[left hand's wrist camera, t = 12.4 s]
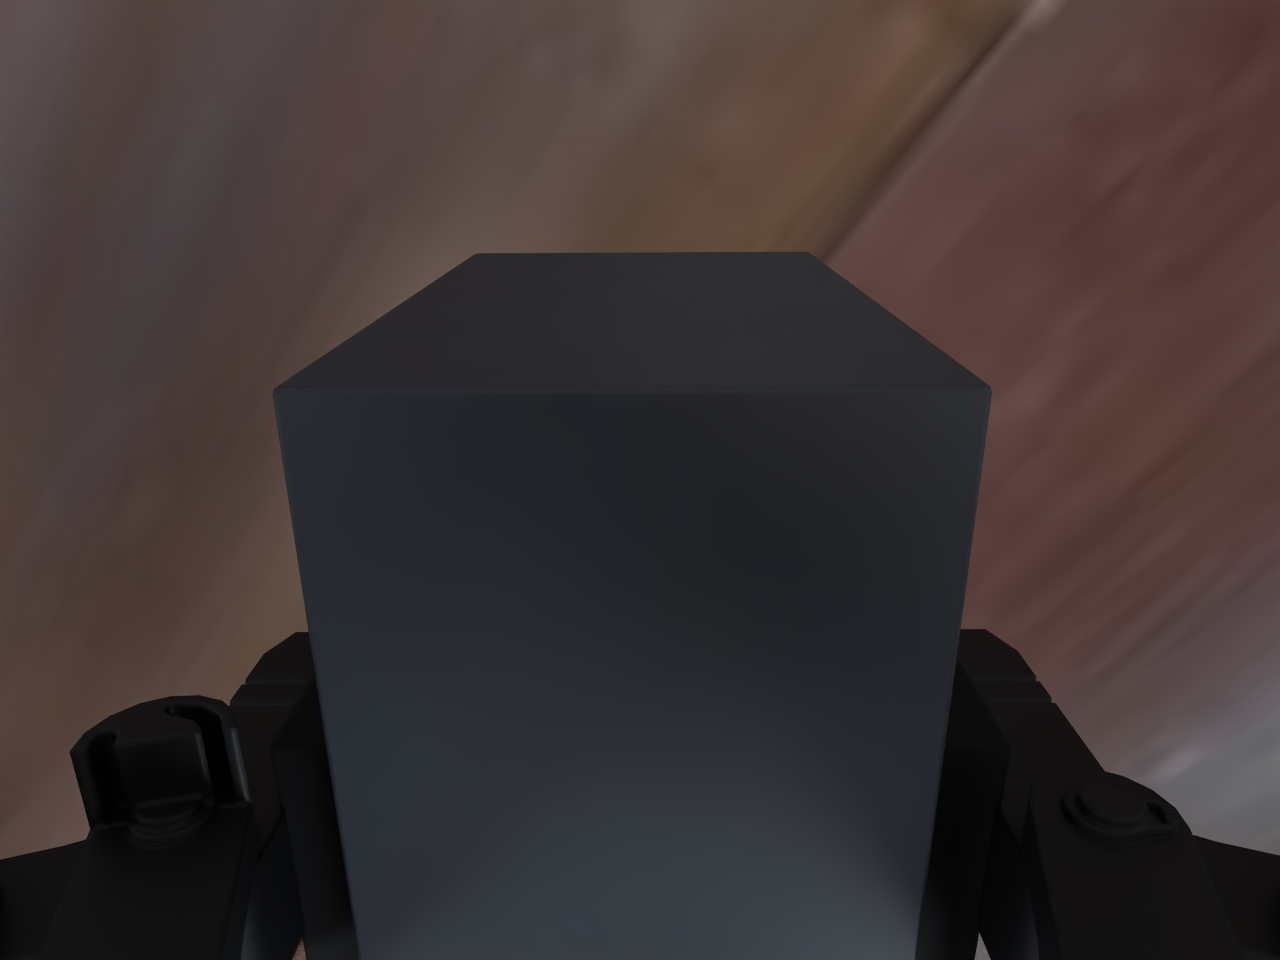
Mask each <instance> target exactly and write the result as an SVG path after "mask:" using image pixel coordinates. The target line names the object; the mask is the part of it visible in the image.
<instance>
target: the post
mask: <svg viewBox="0 0 1280 960" xmlns="http://www.w3.org/2000/svg"><path fill="white" fill-rule="evenodd" d="M991 395H992V391H991V387H990V386H989V385H988V384H986V383H985V382H984V381H982V380H981V379H980V378H978V377H977V376H976V375H974V374H973V373H971V372H970V371H969V370H967V369H966V368H965V367H963V366H962V365H961V364H959V363H958V362H957V361H955V360H954V359H952V358H951V357H950V356H948V355H947V354H946V353H944V352H943V351H942V350H940V349H939V348H938V347H936V346H935V345H934V344H932V343H931V342H929V341H928V340H927V339H925V338H924V337H923V336H921V335H920V334H919V333H917V332H916V331H915V330H913V329H912V328H910V327H909V326H908V325H906V324H905V323H904V322H902V321H901V320H900V319H898V318H897V317H896V316H894V315H893V314H891V313H890V312H889V311H887V310H886V309H885V308H883V307H882V306H881V305H879V304H878V303H877V302H875V301H874V300H873V299H871V298H870V297H868V296H867V295H866V294H864V293H863V292H862V291H860V290H859V289H858V288H856V287H855V286H854V285H852V284H851V283H849V282H848V281H847V280H845V279H844V278H843V277H841V276H840V275H839V274H837V273H836V272H835V271H833V270H832V269H831V268H829V267H828V266H826V265H825V264H824V263H822V262H821V261H820V260H818V259H817V258H816V257H814V256H813V255H812V254H810V253H808V252H675V253H481V254H475V255H473V256H472V257H470V258H469V259H467V260H466V261H464V262H463V263H461V264H460V265H458V266H457V267H455V268H454V269H452V270H451V271H449V272H448V273H446V274H445V275H443V276H442V277H440V278H439V279H437V280H436V281H434V282H433V283H431V284H430V285H428V286H427V287H425V288H424V289H422V290H421V291H419V292H418V293H416V294H415V295H413V296H412V297H410V298H409V299H407V300H406V301H404V302H403V303H401V304H400V305H398V306H397V307H395V308H394V309H392V310H391V311H389V312H388V313H386V314H385V315H383V316H382V317H380V318H379V319H377V320H376V321H375V322H373V323H372V324H370V325H369V326H367V327H366V328H364V329H363V330H361V331H360V332H358V333H357V334H355V335H354V336H352V337H351V338H349V339H348V340H346V341H345V342H343V343H342V344H340V345H339V346H337V347H336V348H334V349H333V350H331V351H330V352H328V353H327V354H325V355H324V356H322V357H321V358H319V359H318V360H316V361H315V362H313V363H312V364H310V365H309V366H307V367H306V368H304V369H303V370H301V371H300V372H298V373H297V374H295V375H294V376H292V377H291V378H289V379H288V380H286V381H285V382H283V383H282V384H280V385H279V386H277V387H276V388H274V391H273V401H274V407H275V414H276V420H277V427H278V433H279V440H280V446H281V453H282V460H283V466H284V473H285V479H286V486H287V492H288V499H289V505H290V512H291V519H292V525H293V532H294V538H295V545H296V551H297V558H298V564H299V571H300V578H301V584H302V591H303V597H304V604H305V610H306V617H307V623H308V630H309V637H310V643H311V650H312V656H313V663H314V669H315V676H316V682H317V689H318V695H319V702H320V709H321V715H322V722H323V728H324V735H325V741H326V748H327V754H328V761H329V768H330V774H331V781H332V787H333V794H334V800H335V807H336V813H337V820H338V827H339V833H340V840H341V846H342V853H343V859H344V866H345V872H346V879H347V886H348V892H349V899H350V905H351V912H352V918H353V925H354V931H355V938H356V944H357V951H358V958H359V960H916V958H917V951H918V943H919V936H920V928H921V921H922V913H923V906H924V898H925V891H926V883H927V876H928V868H929V861H930V853H931V846H932V838H933V831H934V823H935V816H936V808H937V801H938V793H939V786H940V778H941V771H942V763H943V756H944V748H945V741H946V733H947V726H948V718H949V711H950V703H951V696H952V688H953V681H954V673H955V666H956V658H957V651H958V643H959V636H960V628H961V620H962V613H963V605H964V598H965V590H966V583H967V575H968V568H969V560H970V553H971V545H972V538H973V530H974V523H975V515H976V508H977V500H978V493H979V485H980V478H981V470H982V463H983V455H984V448H985V440H986V433H987V425H988V418H989V410H990V403H991Z"/></svg>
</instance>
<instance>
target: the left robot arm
mask: <svg viewBox="0 0 1280 960" xmlns="http://www.w3.org/2000/svg"><path fill="white" fill-rule="evenodd" d="M70 755H71V759H72V762H73V766H74V770H75V774H76V777H77V781H78V785H79V789H80V792H81V796H82V800H83V803H84V807H85V811H86V815H87V818H88V822H89V826H90V832H89V834H88V836H87V839H86V840H83V841H79V842H76V843H72V844H69V845H65V846H61V847H56V848H52V849H47V850H42V851H38V852H33V853H29V854H24V855H20V856H15V857H11V858H6V859H1V860H0V960H292V958H293V956H294V953H295V951H296V949H297V946H298V944H299V942H300V939H301V937H303V943H304V949H305V954H306V960H359V958H358V951H357V944H356V938H355V931H354V925H353V918H352V912H351V905H350V899H349V892H348V886H347V879H346V872H345V866H344V859H343V853H342V846H341V840H340V833H339V827H338V820H337V813H336V807H335V800H334V794H333V787H332V781H331V774H330V768H329V761H328V754H327V748H326V741H325V735H324V728H323V722H322V715H321V709H320V702H319V695H318V689H317V682H316V676H315V669H314V663H313V656H312V650H311V643H310V637H309V632H296V633H294V634H293V635H291V636H290V637H288V638H287V639H285V640H284V641H282V642H281V643H279V644H278V645H276V646H275V647H274V648H272V649H271V650H269V651H268V652H266V653H265V654H264V655H263V656H262V657H261V659H260V660H259V662H258V663H257V664H256V666H255V667H254V669H253V670H252V671H251V673H250V674H249V675H248V677H247V678H246V683H245V685H241V687H240V688H239V689H238V691H237V692H236V694H235V695H234V696H233V698H232V699H231V700H230V706H228V705H227V704H225V703H224V702H223V701H221V700H217V699H213V698H209V697H204V696H200V695H195V696H170V697H166V698H161V699H157V700H153V701H148V702H144V703H140V704H137V705H135V706H132V707H130V708H128V709H125V710H123V711H120V712H118V713H116V714H113V715H111V716H109V717H108V718H106V719H105V720H103V721H102V722H100V723H99V724H97V725H96V726H94V727H93V728H91V729H90V730H88V731H87V732H85V733H84V734H83V736H82V737H81V738H80V739H79V740H78V742H77V743H76V744H75V745H74V747H73V748H72V749H71V750H70ZM979 932H980V935H981V937H982V940H983V942H984V944H985V947H986V949H987V951H988V954H989V956H990V959H991V960H1280V856H1279V855H1275V854H1270V853H1265V852H1261V851H1256V850H1252V849H1247V848H1242V847H1238V846H1233V845H1229V844H1224V843H1220V842H1216V841H1212V840H1209V839H1205V838H1202V837H1198V836H1195V835H1192V832H1191V830H1190V828H1189V826H1188V825H1187V824H1186V822H1185V821H1184V819H1183V818H1182V817H1181V815H1180V814H1179V812H1178V811H1177V809H1176V808H1175V807H1173V806H1172V805H1171V804H1170V803H1168V802H1167V801H1166V800H1164V799H1163V798H1162V797H1161V796H1159V795H1158V794H1157V793H1155V792H1154V791H1153V790H1151V789H1149V788H1147V787H1145V786H1143V785H1141V784H1139V783H1137V782H1134V781H1132V780H1130V779H1128V778H1126V777H1124V776H1121V775H1117V774H1113V773H1109V772H1105V771H1104V770H1103V768H1102V767H1101V766H1100V764H1099V763H1098V761H1097V760H1096V759H1095V757H1094V756H1093V754H1092V753H1091V752H1090V750H1089V749H1088V748H1087V746H1086V745H1085V743H1084V742H1083V741H1082V739H1081V738H1080V737H1079V735H1078V734H1077V732H1076V731H1075V730H1074V728H1073V727H1072V725H1071V724H1070V723H1069V721H1068V720H1067V719H1066V717H1065V716H1064V714H1063V713H1062V712H1061V710H1060V709H1059V708H1058V706H1057V705H1056V703H1052V702H1051V697H1050V695H1049V694H1048V692H1047V691H1046V690H1045V688H1044V687H1043V685H1042V684H1041V683H1040V682H1036V676H1035V674H1034V673H1033V672H1032V670H1031V669H1030V668H1029V666H1028V665H1027V663H1026V662H1025V661H1024V659H1023V658H1022V656H1021V655H1020V654H1019V652H1018V651H1017V650H1015V649H1014V648H1012V647H1011V646H1009V645H1008V644H1006V643H1005V642H1003V641H1002V640H1000V639H999V638H998V637H996V636H995V635H993V634H992V633H990V632H989V631H987V630H986V629H960V636H959V643H958V651H957V658H956V666H955V673H954V681H953V688H952V696H951V703H950V711H949V718H948V726H947V733H946V741H945V748H944V756H943V763H942V771H941V778H940V786H939V793H938V801H937V808H936V816H935V823H934V831H933V838H932V846H931V853H930V861H929V868H928V876H927V883H926V891H925V898H924V906H923V913H922V921H921V928H920V936H919V943H918V951H917V958H916V960H974V959H975V954H976V948H977V942H978V936H979Z"/></svg>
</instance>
